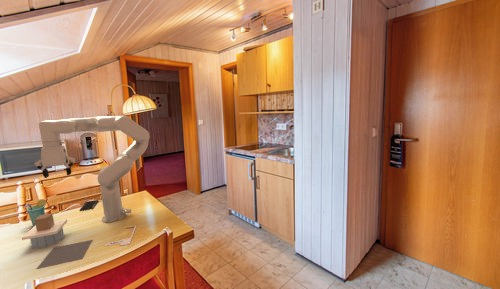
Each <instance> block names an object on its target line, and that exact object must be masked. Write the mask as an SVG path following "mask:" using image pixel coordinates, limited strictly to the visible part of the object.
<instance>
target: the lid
mask: <svg viewBox="0 0 500 289" xmlns="http://www.w3.org/2000/svg"><path fill="white" fill-rule="evenodd" d="M67 222H68V219H62V220H55V219H54V215H53V213H45V215H40V216H38V217H37V218H36V219H35V224H36V225H35V226H34V227H33V226H32V228H31V229H30V230H28V231H27V232H26V233H25V234H24V235H23V236H22V237H21V241H24V240H30V239H31V238H36V237H42V236H47V235H52V234H57V233H58V232H59V231H60V229H61V228H62V227H64V226H65V225H66V224H67Z"/></svg>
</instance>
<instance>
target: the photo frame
mask: <svg viewBox="0 0 500 289" xmlns="http://www.w3.org/2000/svg"><path fill="white" fill-rule="evenodd" d="M130 228H133V230H132V233H131V235H130V237H128V238H122V239H121V240H116V241H112V242H106V243H105V245H104V247H107V246H108V247H109V246H113V245H118V244H119V247H125V246H129V245H131V243H132V240H133V237H134V234H135V231H136V229H137V225H131V226H127V227H125V229H130Z"/></svg>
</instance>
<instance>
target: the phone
mask: <svg viewBox="0 0 500 289" xmlns="http://www.w3.org/2000/svg"><path fill="white" fill-rule="evenodd" d="M98 203H99V199H96V200H95V199H94V200H87V201H85V203H84V204H83V205H82V206H81V208H80V209H79V212H85V211H91V210H94V209H95V208H96V206H97V204H98ZM90 209H91V210H90ZM84 210H85V211H84Z"/></svg>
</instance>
